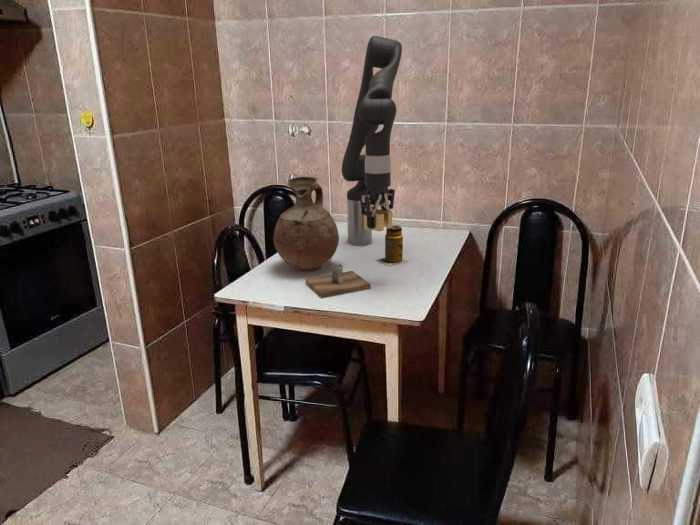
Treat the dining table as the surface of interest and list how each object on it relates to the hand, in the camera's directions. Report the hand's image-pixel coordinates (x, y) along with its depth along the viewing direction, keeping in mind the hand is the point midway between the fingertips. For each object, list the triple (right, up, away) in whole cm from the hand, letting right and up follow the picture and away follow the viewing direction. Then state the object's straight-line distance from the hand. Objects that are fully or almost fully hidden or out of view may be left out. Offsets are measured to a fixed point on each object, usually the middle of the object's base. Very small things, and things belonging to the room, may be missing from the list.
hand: (377, 225), depth 161 cm
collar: (0, -1, 0) cm, 1 cm away
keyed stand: (-12, -18, +2) cm, 22 cm away
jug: (-23, -13, +19) cm, 32 cm away
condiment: (+6, -11, +24) cm, 27 cm away
